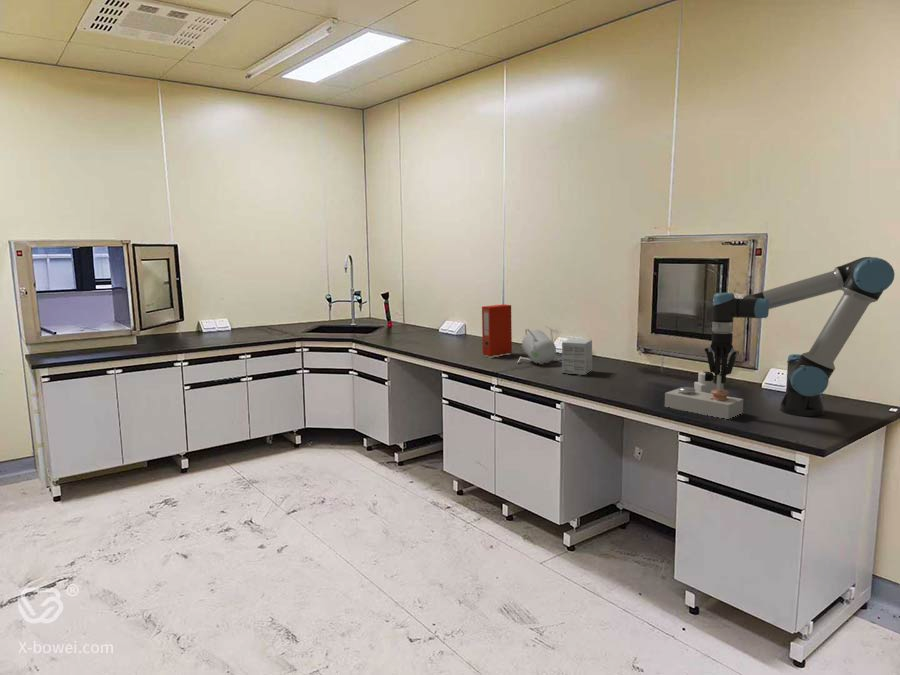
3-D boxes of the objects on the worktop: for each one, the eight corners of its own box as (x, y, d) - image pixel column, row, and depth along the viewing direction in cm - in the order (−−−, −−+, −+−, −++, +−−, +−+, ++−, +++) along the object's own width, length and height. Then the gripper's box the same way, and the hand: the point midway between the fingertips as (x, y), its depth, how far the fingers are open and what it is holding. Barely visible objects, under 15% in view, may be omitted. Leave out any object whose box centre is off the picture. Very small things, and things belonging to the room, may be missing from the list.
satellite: (535, 339, 330) (572, 339, 340) (519, 322, 346) (555, 322, 356) (525, 374, 341) (561, 372, 350) (510, 355, 356) (545, 354, 366)
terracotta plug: (731, 409, 237) (731, 391, 236) (723, 412, 233) (724, 394, 232) (715, 406, 242) (716, 388, 241) (707, 409, 238) (708, 391, 237)
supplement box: (568, 369, 330) (568, 338, 327) (592, 371, 324) (592, 339, 321) (561, 374, 319) (561, 342, 316) (585, 376, 312) (585, 343, 310)
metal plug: (697, 405, 248) (698, 388, 247) (689, 408, 244) (690, 391, 243) (683, 403, 253) (684, 386, 252) (675, 406, 249) (675, 388, 248)
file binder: (512, 355, 378) (511, 305, 373) (490, 358, 369) (489, 307, 364) (504, 353, 385) (503, 304, 380) (482, 356, 376) (481, 306, 371)
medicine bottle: (709, 396, 264) (710, 370, 262) (717, 400, 257) (718, 373, 255) (693, 397, 264) (694, 370, 262) (700, 401, 257) (701, 374, 255)
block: (742, 413, 237) (743, 399, 236) (727, 419, 229) (728, 404, 228) (680, 401, 258) (680, 387, 257) (664, 406, 250) (665, 392, 249)
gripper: (701, 331, 236) (699, 389, 239) (734, 335, 226) (731, 395, 229) (711, 329, 240) (708, 386, 244) (743, 332, 230) (740, 391, 234)
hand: (719, 390), depth 237 cm, fingers closed
